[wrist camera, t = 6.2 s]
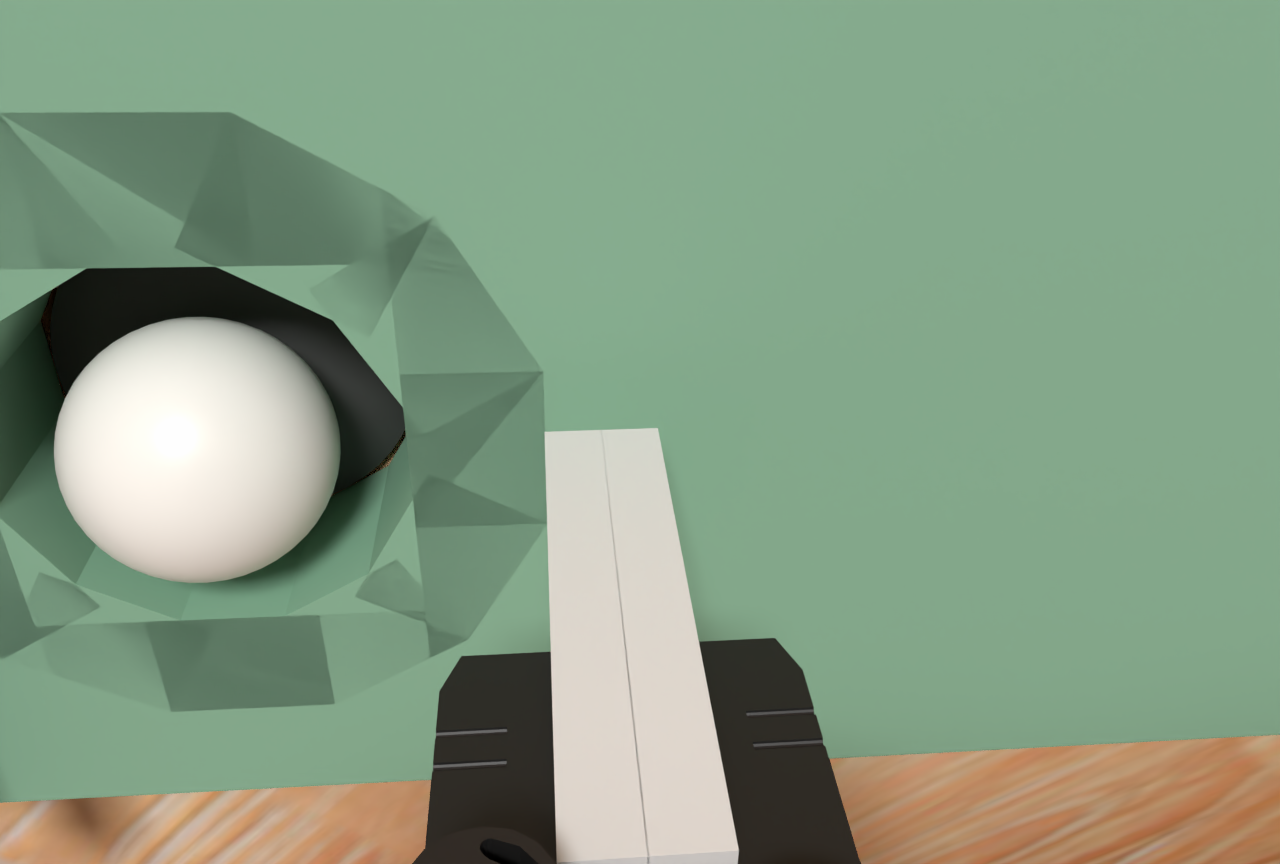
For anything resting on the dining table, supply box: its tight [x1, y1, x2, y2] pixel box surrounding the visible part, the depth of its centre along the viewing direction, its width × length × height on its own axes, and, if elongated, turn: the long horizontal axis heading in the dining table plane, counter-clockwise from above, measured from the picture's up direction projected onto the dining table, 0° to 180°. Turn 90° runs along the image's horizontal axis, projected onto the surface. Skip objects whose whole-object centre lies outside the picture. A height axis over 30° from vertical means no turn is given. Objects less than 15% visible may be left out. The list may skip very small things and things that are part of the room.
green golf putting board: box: [0, 0, 1280, 803], centre depth 17 cm, size 14×26×5 cm, turn 89°
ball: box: [54, 317, 341, 583], centre depth 17 cm, size 4×4×4 cm
